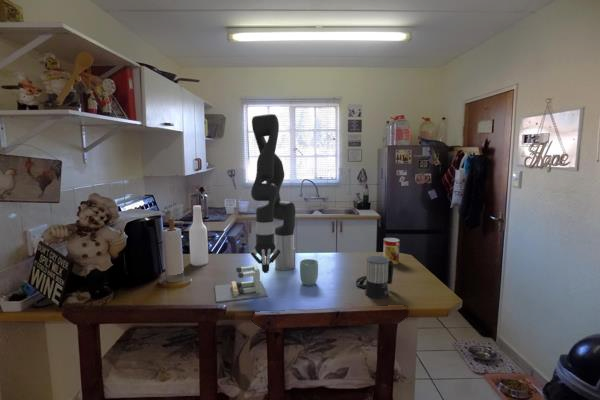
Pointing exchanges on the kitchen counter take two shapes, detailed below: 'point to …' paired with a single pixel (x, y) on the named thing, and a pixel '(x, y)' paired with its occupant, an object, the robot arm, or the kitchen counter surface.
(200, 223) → the alcohol
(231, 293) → the mat
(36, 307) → the kitchen counter surface
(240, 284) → the pale mint angular piece
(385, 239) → the canned food
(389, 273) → the milk frother
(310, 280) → the cup
